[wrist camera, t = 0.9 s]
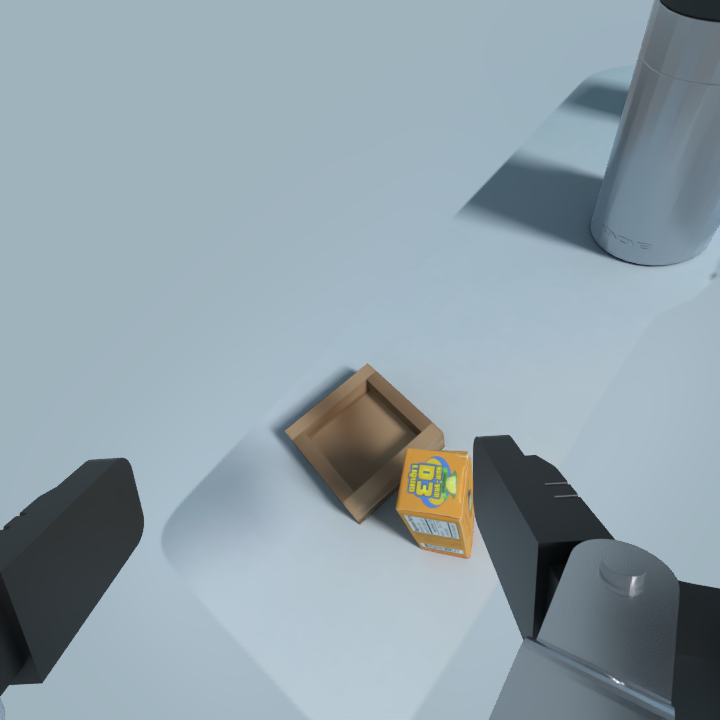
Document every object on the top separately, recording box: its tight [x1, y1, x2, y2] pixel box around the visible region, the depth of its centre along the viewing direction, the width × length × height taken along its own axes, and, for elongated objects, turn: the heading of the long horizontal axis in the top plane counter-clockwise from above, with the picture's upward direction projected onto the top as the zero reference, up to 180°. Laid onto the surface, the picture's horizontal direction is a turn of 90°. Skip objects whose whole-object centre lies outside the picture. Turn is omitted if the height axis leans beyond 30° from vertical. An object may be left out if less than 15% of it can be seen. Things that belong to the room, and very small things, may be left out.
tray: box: [285, 363, 445, 524], centre depth 32 cm, size 8×8×2 cm
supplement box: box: [396, 448, 474, 559], centre depth 24 cm, size 3×3×10 cm
